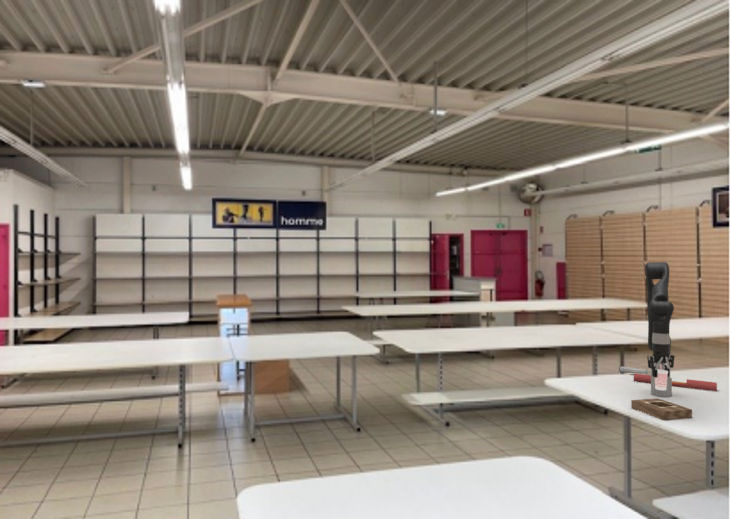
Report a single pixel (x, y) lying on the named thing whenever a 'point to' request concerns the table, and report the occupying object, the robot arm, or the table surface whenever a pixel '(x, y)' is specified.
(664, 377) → the beverage cup
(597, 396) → the table surface
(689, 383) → the reddish-brown long rod
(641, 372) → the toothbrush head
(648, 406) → the socket board
